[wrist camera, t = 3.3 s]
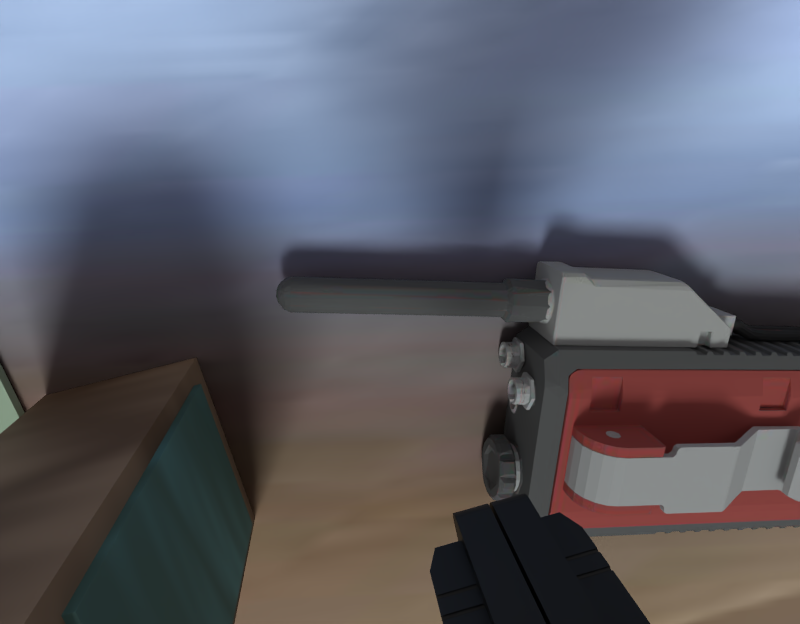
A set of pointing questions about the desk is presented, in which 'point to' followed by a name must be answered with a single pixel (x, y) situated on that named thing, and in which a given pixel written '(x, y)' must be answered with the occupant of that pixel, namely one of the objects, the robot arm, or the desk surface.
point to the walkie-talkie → (619, 396)
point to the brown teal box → (122, 506)
